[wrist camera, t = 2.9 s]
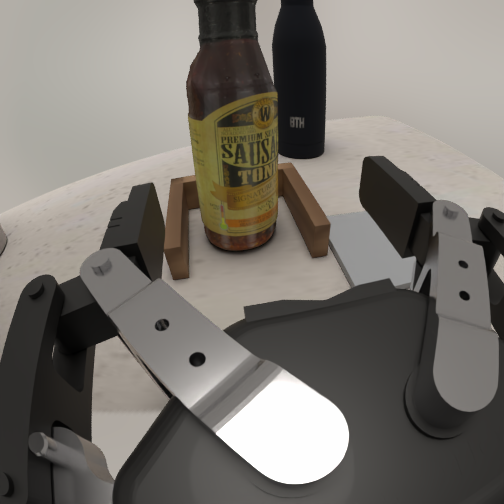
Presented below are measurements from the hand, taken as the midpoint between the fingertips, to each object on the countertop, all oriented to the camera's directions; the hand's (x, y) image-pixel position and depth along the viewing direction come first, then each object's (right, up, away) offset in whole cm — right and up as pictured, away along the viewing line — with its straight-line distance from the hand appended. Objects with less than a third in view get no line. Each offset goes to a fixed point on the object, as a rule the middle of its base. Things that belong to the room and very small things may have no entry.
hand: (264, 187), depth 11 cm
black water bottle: (+6, +11, +28) cm, 31 cm away
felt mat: (+11, -2, +12) cm, 17 cm away
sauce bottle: (-1, -1, +15) cm, 15 cm away
